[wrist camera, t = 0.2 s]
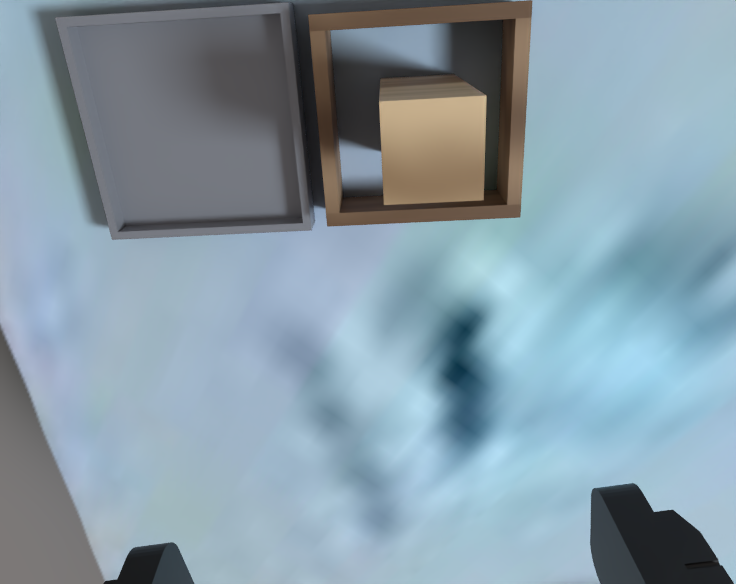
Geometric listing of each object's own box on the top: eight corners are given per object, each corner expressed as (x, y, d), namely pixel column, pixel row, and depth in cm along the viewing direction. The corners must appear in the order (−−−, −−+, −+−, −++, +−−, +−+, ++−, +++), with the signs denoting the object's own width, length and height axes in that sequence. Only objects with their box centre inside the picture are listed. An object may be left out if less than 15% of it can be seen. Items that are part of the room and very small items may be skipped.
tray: (72, 18, 34) (54, 17, 32) (293, 3, 33) (288, 2, 31) (124, 229, 39) (112, 239, 37) (315, 220, 38) (311, 230, 37)
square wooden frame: (315, 15, 33) (308, 14, 30) (517, 2, 33) (532, 0, 30) (332, 209, 38) (327, 226, 35) (508, 201, 38) (520, 217, 34)
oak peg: (380, 78, 35) (379, 101, 24) (453, 73, 34) (486, 95, 24) (383, 151, 36) (383, 205, 26) (453, 148, 36) (483, 200, 25)
